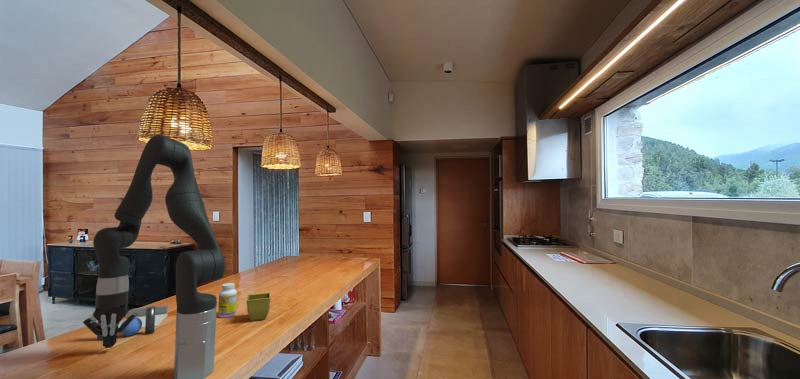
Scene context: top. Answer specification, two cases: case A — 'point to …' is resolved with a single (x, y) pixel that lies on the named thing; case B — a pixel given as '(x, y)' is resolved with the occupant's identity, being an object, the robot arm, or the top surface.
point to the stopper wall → (157, 310)
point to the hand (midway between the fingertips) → (109, 346)
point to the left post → (99, 337)
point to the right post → (150, 320)
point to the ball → (132, 327)
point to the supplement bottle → (227, 301)
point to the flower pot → (258, 306)
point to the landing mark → (157, 320)
